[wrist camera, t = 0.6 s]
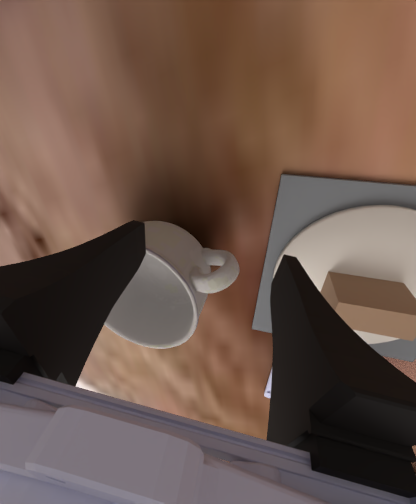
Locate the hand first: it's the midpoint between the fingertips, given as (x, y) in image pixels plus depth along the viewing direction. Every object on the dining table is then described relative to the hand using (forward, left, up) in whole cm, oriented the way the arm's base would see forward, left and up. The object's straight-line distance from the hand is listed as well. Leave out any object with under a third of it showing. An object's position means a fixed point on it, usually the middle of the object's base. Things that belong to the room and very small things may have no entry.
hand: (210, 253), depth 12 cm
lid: (-7, -12, -10) cm, 17 cm away
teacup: (-7, +5, -10) cm, 13 cm away
